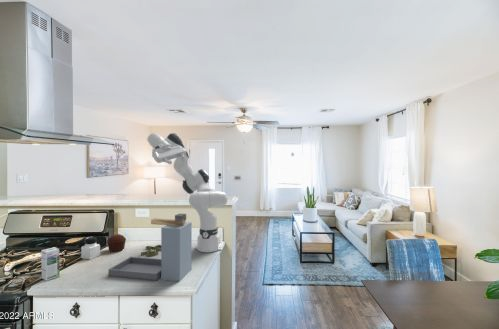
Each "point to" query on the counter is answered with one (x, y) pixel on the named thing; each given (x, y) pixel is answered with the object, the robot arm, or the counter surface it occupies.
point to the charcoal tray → (137, 269)
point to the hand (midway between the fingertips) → (177, 161)
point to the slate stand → (176, 251)
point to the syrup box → (50, 263)
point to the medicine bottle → (90, 248)
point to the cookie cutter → (151, 253)
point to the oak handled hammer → (171, 221)
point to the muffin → (116, 243)
